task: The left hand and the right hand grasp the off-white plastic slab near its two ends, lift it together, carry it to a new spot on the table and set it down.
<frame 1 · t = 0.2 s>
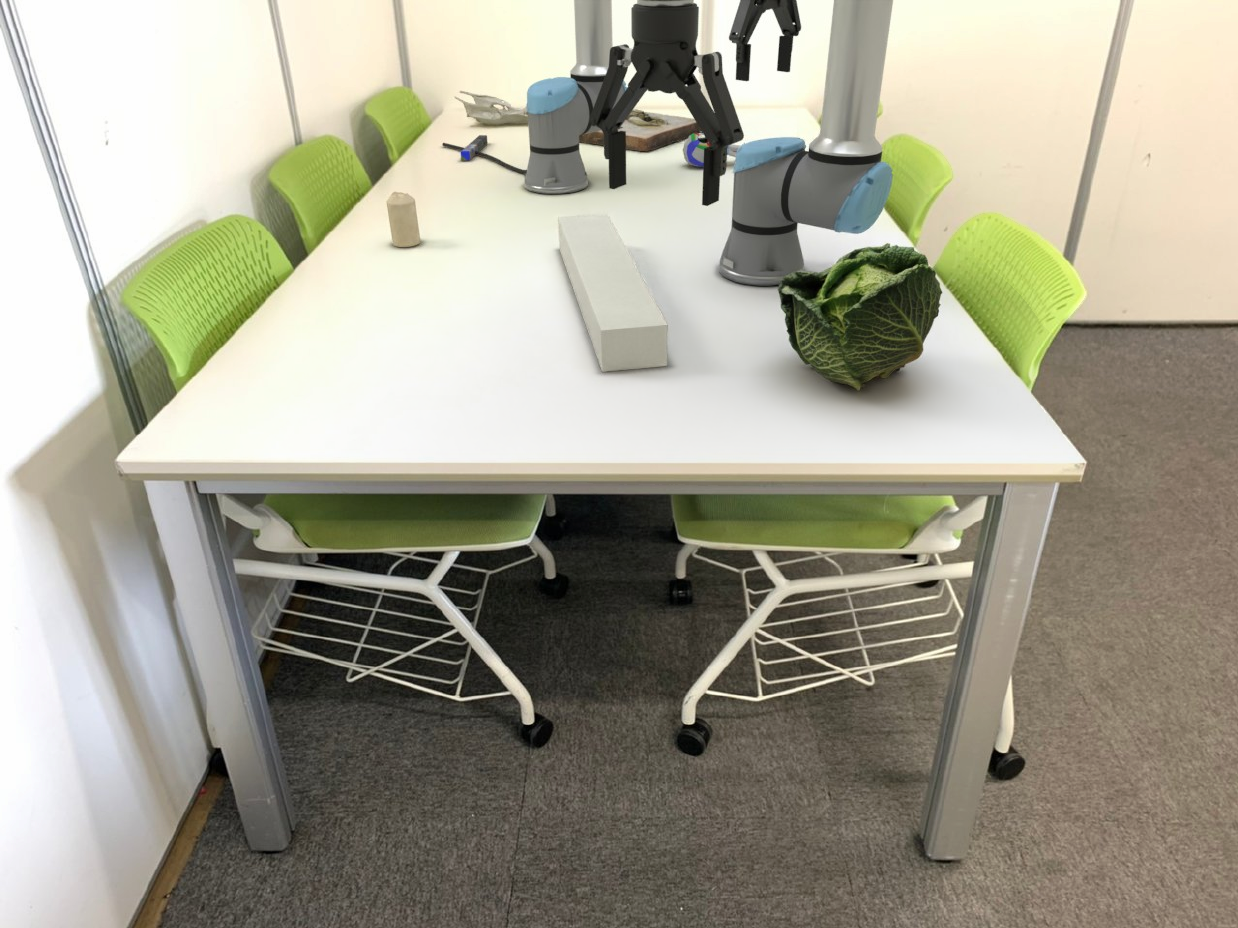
left hand: (763, 76, 179), 28 cm above the table, tool pointing down, fingers open, 13 cm apart
right hand: (662, 194, 111), 27 cm above the table, tool pointing down, fingers open, 13 cm apart
slab: (605, 299, 154), on the table
plaque: (633, 136, 259), on the table
anatomical model: (498, 123, 276), on the table
candle: (406, 243, 181), on the table
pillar: (474, 152, 245), on the table
toy: (741, 164, 230), on the table
vegetable: (852, 373, 129), on the table
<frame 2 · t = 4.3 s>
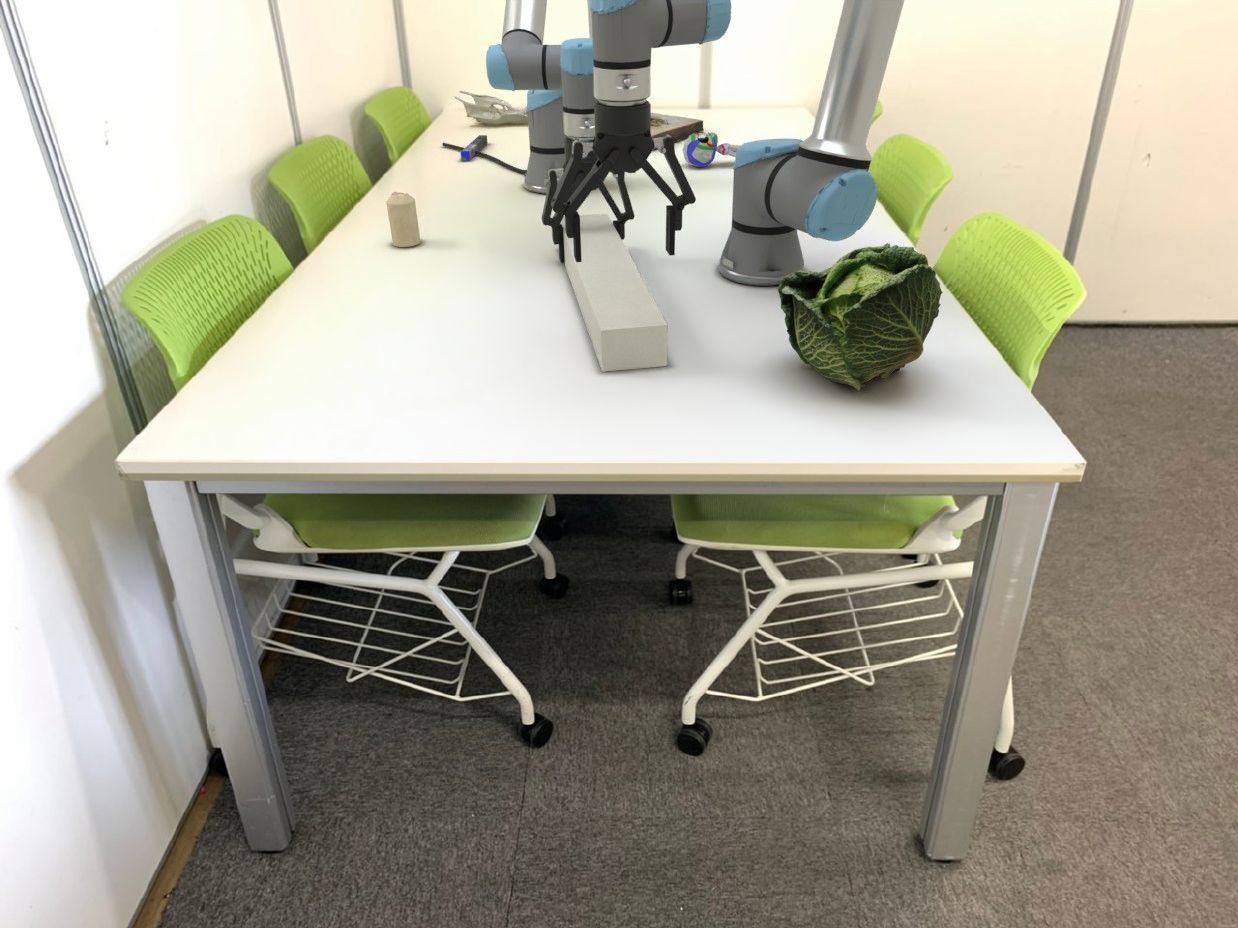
left hand: (589, 258, 170), 1 cm above the table, tool pointing down, fingers closed on slab, 10 cm apart
right hand: (624, 256, 130), 14 cm above the table, tool pointing down, fingers open, 13 cm apart
slab: (605, 299, 154), on the table, touching left hand
everything else where it was.
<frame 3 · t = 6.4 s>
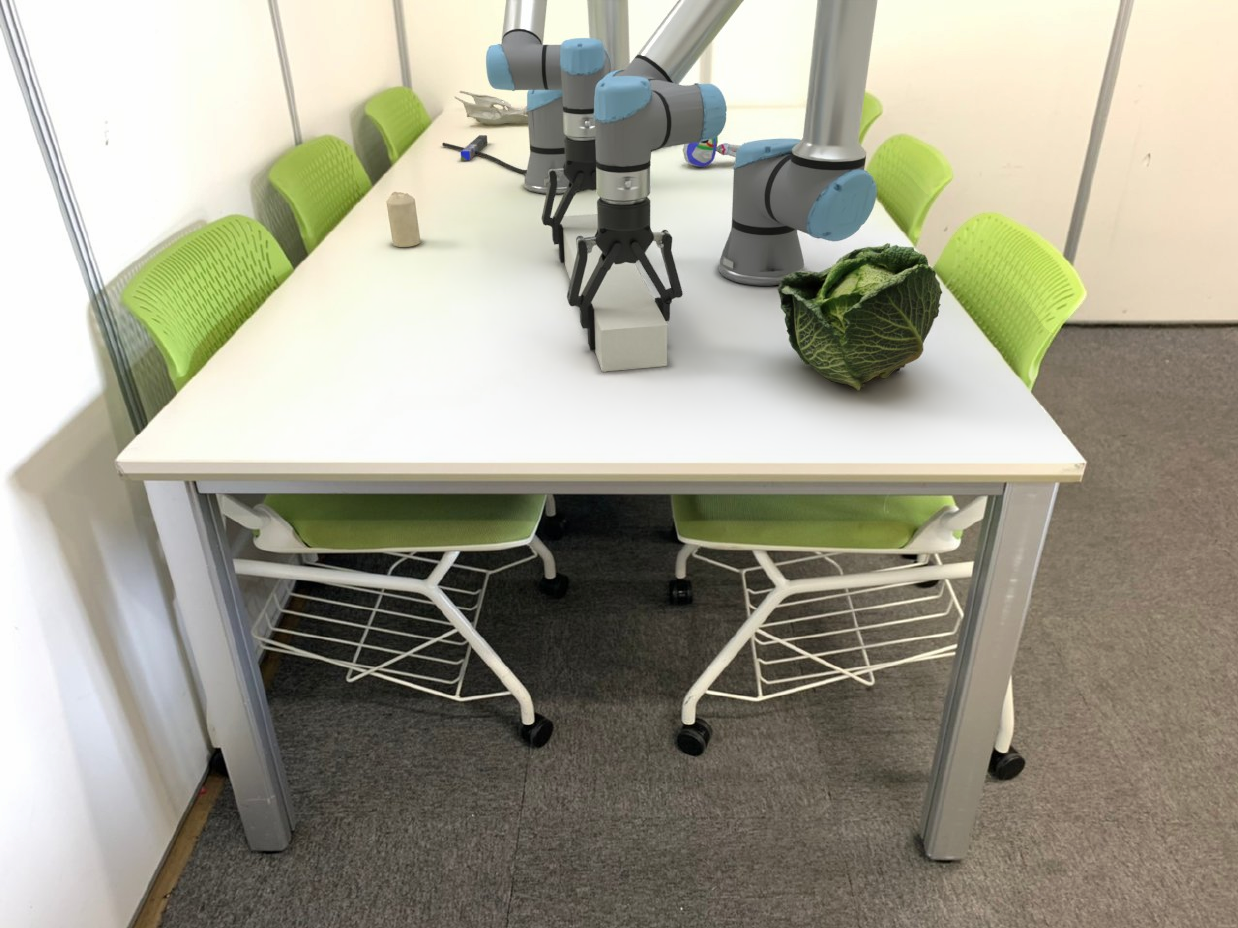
left hand: (589, 258, 170), 1 cm above the table, tool pointing down, fingers closed on slab, 10 cm apart
right hand: (625, 343, 137), 1 cm above the table, tool pointing down, fingers closed on slab, 10 cm apart
slab: (605, 299, 154), on the table, touching left hand, right hand
everything else where it was.
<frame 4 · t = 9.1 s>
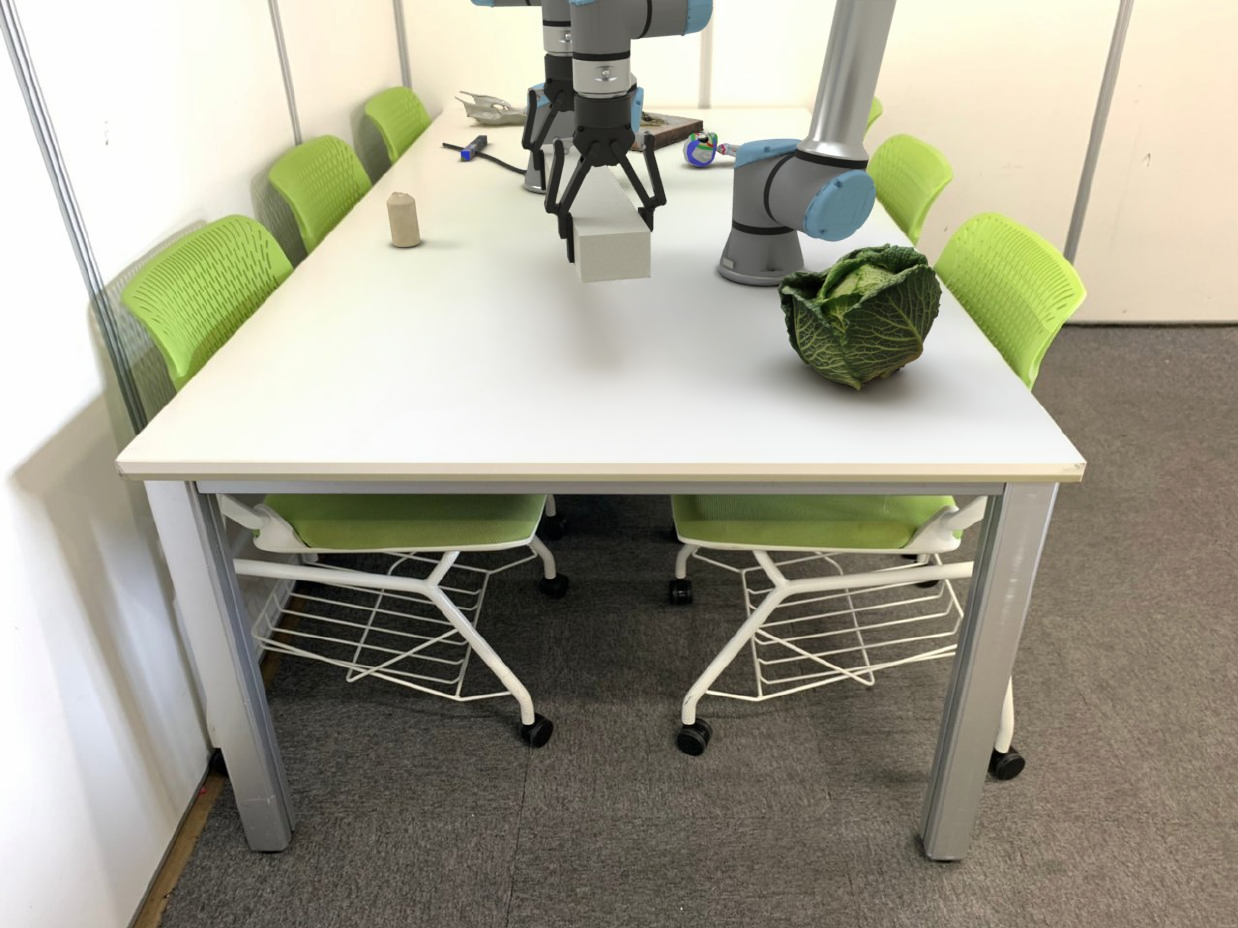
left hand: (572, 186, 162), 14 cm above the table, tool pointing down, fingers closed on slab, 10 cm apart
right hand: (606, 257, 129), 14 cm above the table, tool pointing down, fingers closed on slab, 10 cm apart
slab: (587, 222, 146), point 14 cm above the table, touching left hand, right hand
everything else where it was.
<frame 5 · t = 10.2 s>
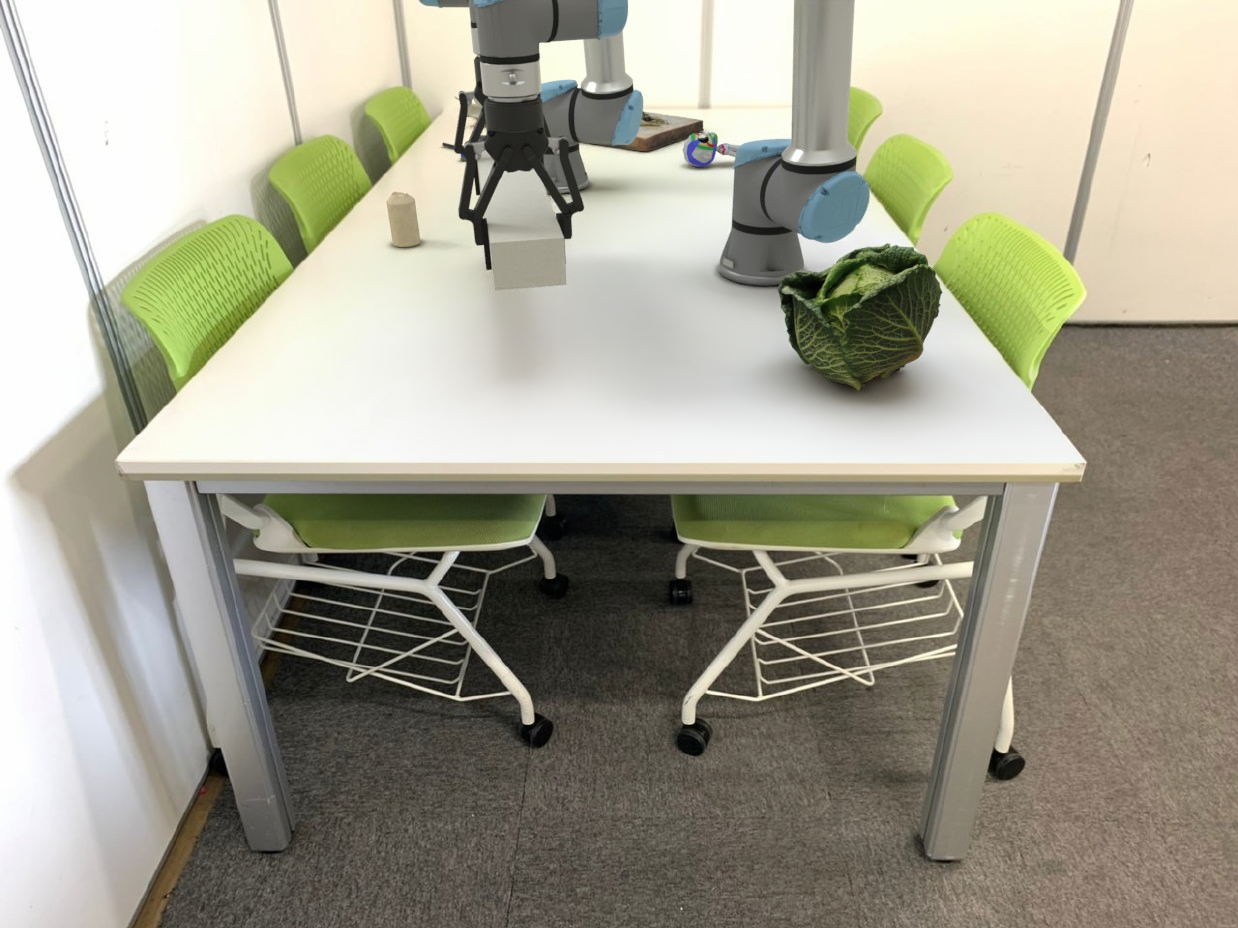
left hand: (507, 191, 160), 14 cm above the table, tool pointing down, fingers closed on slab, 10 cm apart
right hand: (525, 264, 127), 15 cm above the table, tool pointing down, fingers closed on slab, 10 cm apart
slab: (516, 227, 144), point 14 cm above the table, touching left hand, right hand
everything else where it was.
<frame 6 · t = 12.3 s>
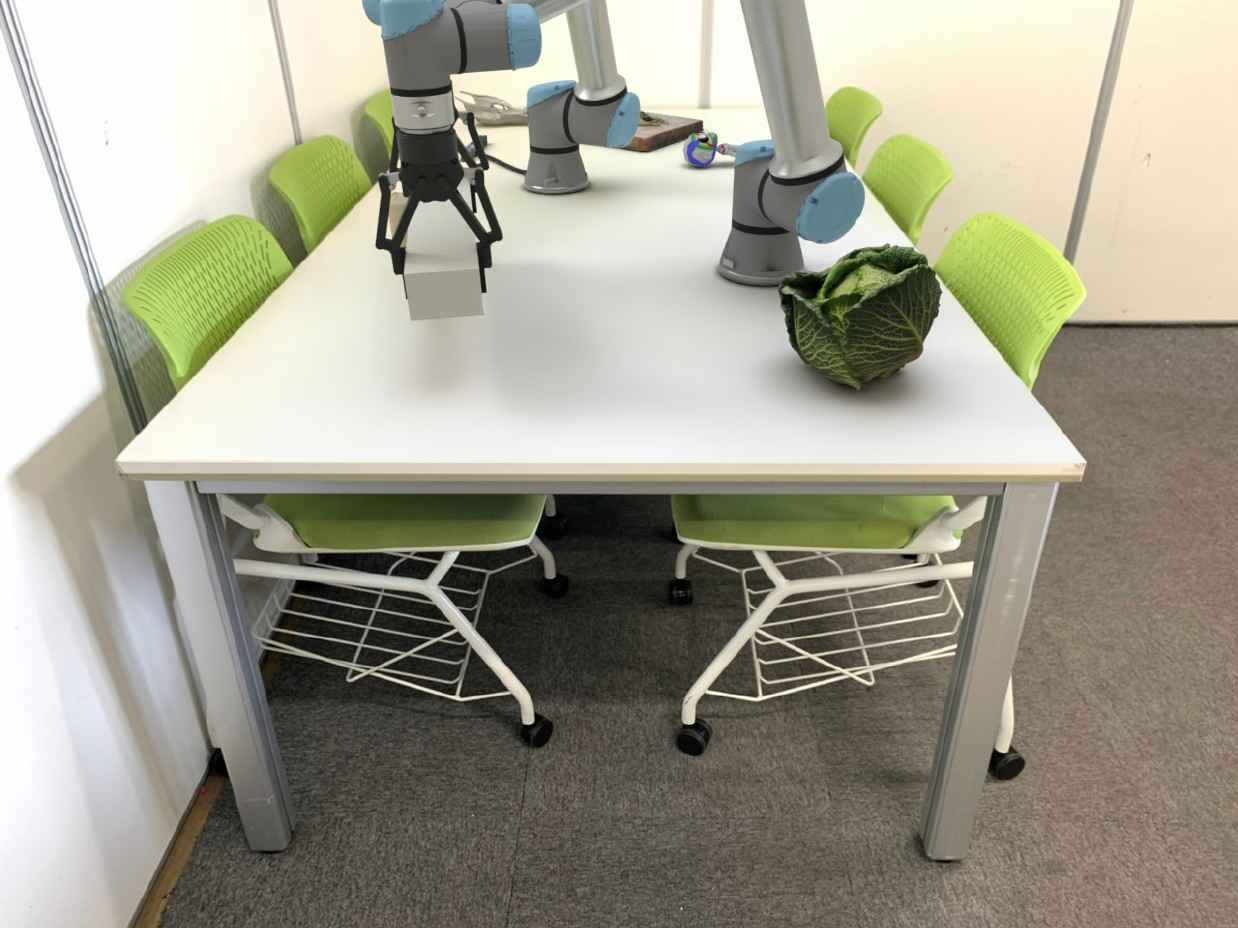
left hand: (445, 213, 159), 11 cm above the table, tool pointing down, fingers closed on slab, 10 cm apart
right hand: (446, 292, 127), 12 cm above the table, tool pointing down, fingers closed on slab, 10 cm apart
slab: (446, 252, 143), point 11 cm above the table, touching left hand, right hand
everything else where it was.
when the left hand's fingers open (2 cm above the table, at t = 14.1 s): slab stays where it is, on the table.
when the right hand's fingers open (2 cm above the table, at t = 14.1 s): slab stays where it is, on the table.
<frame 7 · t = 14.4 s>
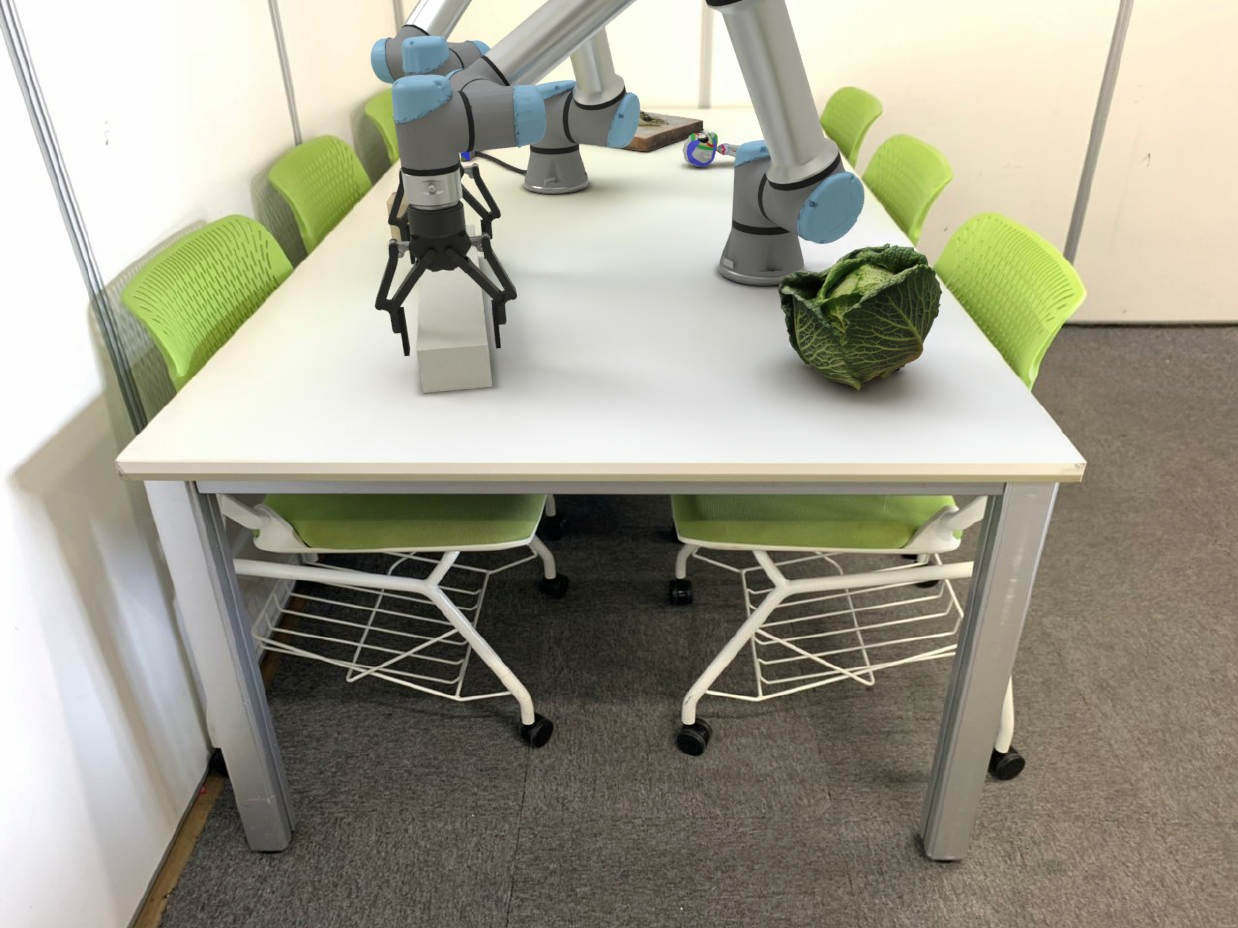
left hand: (449, 259, 164), 3 cm above the table, tool pointing down, fingers open, 12 cm apart
right hand: (453, 348, 131), 3 cm above the table, tool pointing down, fingers open, 12 cm apart
slab: (454, 315, 149), on the table
everything else where it was.
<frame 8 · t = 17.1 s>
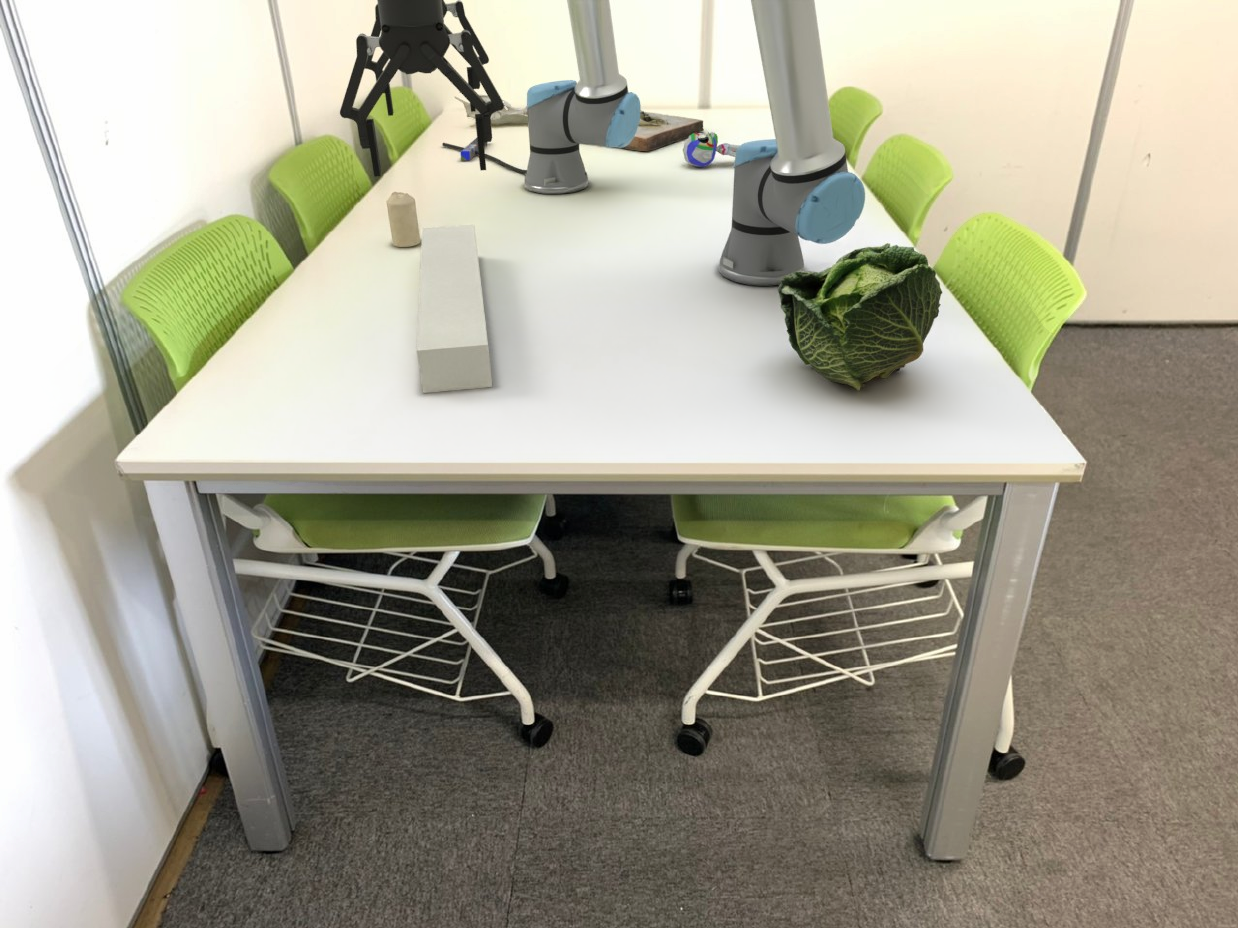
left hand: (432, 112, 150), 28 cm above the table, tool pointing down, fingers open, 13 cm apart
right hand: (430, 171, 117), 28 cm above the table, tool pointing down, fingers open, 13 cm apart
nothing on the table moved.
at the end: slab inside the target area (0.3 cm from its centre), on the table; slab tilted 0°; slab never tilted more than 1° during the clip; both hands held the slab at the same time; the left hand is holding nothing; the right hand is holding nothing; slab at rest at the end (0.0 cm/s) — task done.
